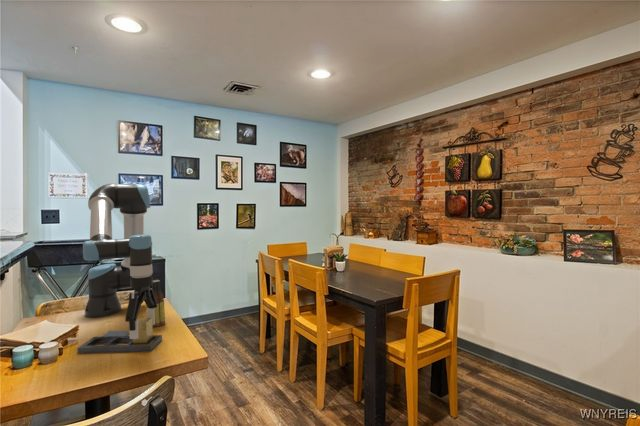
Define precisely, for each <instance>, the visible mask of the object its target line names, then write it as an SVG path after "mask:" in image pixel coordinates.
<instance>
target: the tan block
mask: <svg viewBox="0 0 640 426" xmlns="http://www.w3.org/2000/svg"><path fill="white" fill-rule="evenodd" d="M137 320H138V339H133V345H136V344H149V343H150V342H151V341H152V340H153V331H154V330H153V326H152V318H147V317H137Z"/></svg>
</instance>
